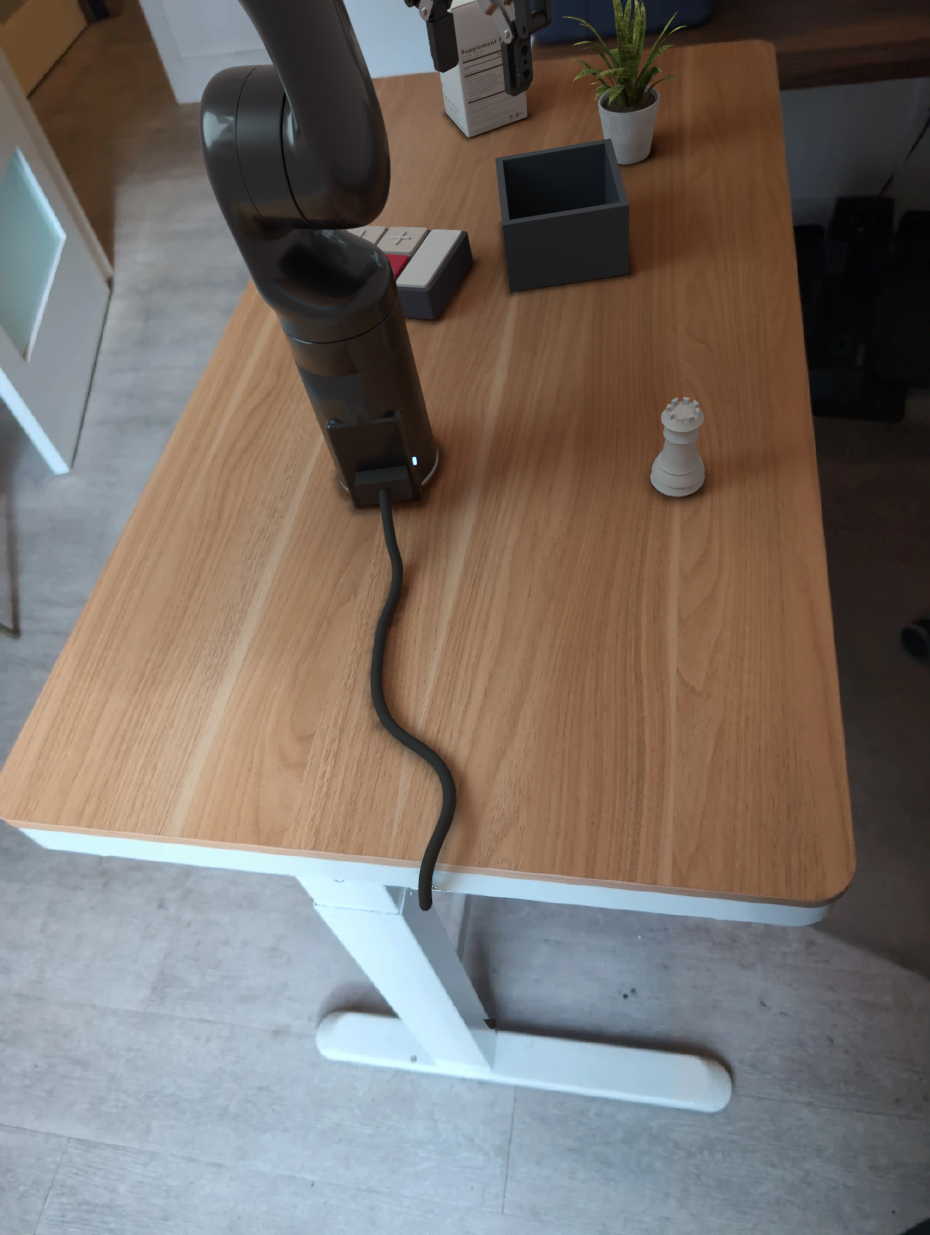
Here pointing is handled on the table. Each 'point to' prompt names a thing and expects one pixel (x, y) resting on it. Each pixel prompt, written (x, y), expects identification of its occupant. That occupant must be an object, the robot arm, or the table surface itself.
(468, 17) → the white product box
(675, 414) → the rook chess piece
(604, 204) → the bin
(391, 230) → the calculator
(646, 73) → the house plant
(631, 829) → the table surface
